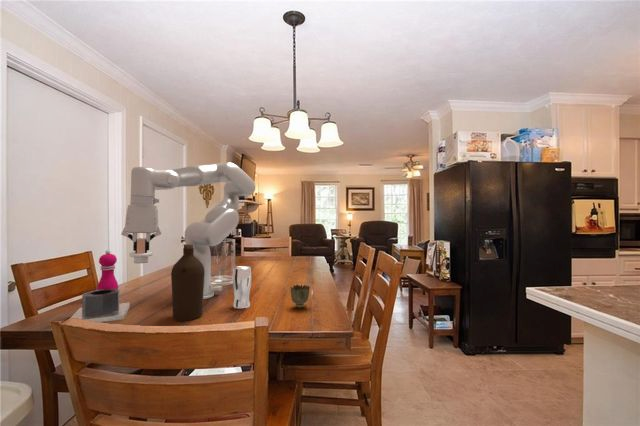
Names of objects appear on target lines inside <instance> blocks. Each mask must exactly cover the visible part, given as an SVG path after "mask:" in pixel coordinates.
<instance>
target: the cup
mask: <svg viewBox="0 0 640 426" xmlns="http://www.w3.org/2000/svg"><path fill="white" fill-rule="evenodd" d="M289 287H290V288H289V290H290V297H291V301H292V302H293V303H294V307H295V308H296V307H299V308H298V309H301V308H300V307H303V308H305V307H306V306H305V304H307V302H308V300H309V295H310V288H311V286H309V285H307V284H303V285H302V284H300V285H299V284H296V285H295V284H294V285H293V286H289Z"/></svg>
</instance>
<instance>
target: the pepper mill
mask: <svg viewBox="0 0 640 426" xmlns="http://www.w3.org/2000/svg"><path fill="white" fill-rule="evenodd" d="M117 261H118V259H117V256H116V255H115V254H112V251H111V250H110V249H108V250H105V254H102V255H101V256H100V257H99V259H98V263H99V265H100V270H101V276H100V279H99V281H98V284H97V285H96V290H99V289H118V290H119V284H118V281H117V279H116V277H115V269H116V263H117Z"/></svg>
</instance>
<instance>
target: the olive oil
mask: <svg viewBox="0 0 640 426" xmlns="http://www.w3.org/2000/svg"><path fill="white" fill-rule="evenodd" d="M182 250H183V251H182V254H183V255H181V257H180V258H179V259H178V260H177V261H176V262H175V264H173V266H172V270H171V272H170V273H171V274H170V275H171V276H170V278H171V279H170V280H171V295H172V296H171V297H172V298H171V300H172V319H173V320H174V321H179V322H185V321H187V322H188V321H192V320H196V319H199V318H201V317H202V316H203V307H204V306H203V305H204V299H203V291H204V275H205V270H204V266H203V264H202V263H201V262H200V261H199V260H198V259H197V258H196V257H195V256H194V248H193V244H186V243H184V244H183V248H182Z"/></svg>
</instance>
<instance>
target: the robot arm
mask: <svg viewBox="0 0 640 426" xmlns="http://www.w3.org/2000/svg"><path fill="white" fill-rule="evenodd" d="M217 183H224V185H223V199H221V201H220V202H219V203H217V204H216V205H215V206H214V207H213V208H211V209H210V210H209V211H208V212H207V213H206V215H205V216H204V222H202V221H200V222H198V221H197V222H193V223H190V224H189V225H188V226H187V227H186V228H185V230H184V241H185V242H184V243H185V244H193V248H194V256H195V257H196V258H197V259H198V260H199V261H200V262H201V263H202V264H203V266H204V270H205V275H204V291H203V300H206V299H210V298H213V297H214V295H215V292H216V291H218V292H219V291H221V292H222V291H223V287H222V285H212V283H211V273H212V272H211V266H212V265H211V263H212V262H211V259H212V258H211V257H212V255H211V249H210V247H215V246H217V245H219V244H220V243H222V242H223V241H224V240H225V239H226V238H227V237H229V235H230V234H231V233H233V231H234V230H235V229H237V227H238V224H239V221H240V215H239V212H238V211H239V208H240V199H239V197H248V196H251V195H253V194H254V193H255V191H256V183H255V181H254V180H253V179H252V178H251V177H250V176H249V175H248V174H247V173H246V172H245V171H244V170H243V169H242V168H241V167H239V166H238V165H237V164H235V163H233V162H229V161H228V162H221V163H210V164H209V163H208V164H200V165H199V164H198V165H190V166H185V167H180V168H174V169H166V168H165V169H160V168H159V169H158V168H151V167H146V166H145V167H144V166H134V167H132V169H131V172H130V203H129V204H128V205H127V208H126V214H125V221H124V222H125V223H124V228H123V230H122V231H121V234H120V235H121V236H123V237H127V238H128V239H130V240H131V241H132V242H133V244H132V245H133V246H132V248H133V252H135V253H137V239H138V234H145V236H146V237H145V238H146V240H145V253H147V252H148V251H149V250H150V242H151V240H153V239H154V238H156V237H159V236H160V235H162V232H161V230H160V228H159V211H158V205H155V204H159V203H160V199H159V198H156V197H155V196H156V191H161V190H173V189H175V188H181V187H183V188H184V187H197V186H198V187H199V186H206V185H212V184H217Z"/></svg>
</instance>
